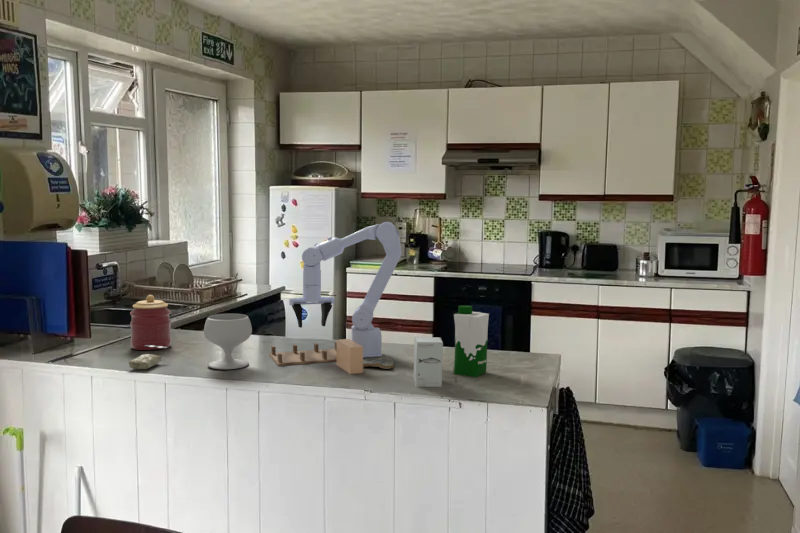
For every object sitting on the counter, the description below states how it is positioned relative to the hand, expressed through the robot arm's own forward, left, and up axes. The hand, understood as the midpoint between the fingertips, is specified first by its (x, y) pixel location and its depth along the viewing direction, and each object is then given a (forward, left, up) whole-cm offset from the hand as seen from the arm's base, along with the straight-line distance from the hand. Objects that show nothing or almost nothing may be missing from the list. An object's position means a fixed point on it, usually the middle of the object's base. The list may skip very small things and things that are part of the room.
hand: (311, 326), depth 223 cm
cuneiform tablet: (+47, -6, -7) cm, 48 cm away
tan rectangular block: (-6, +22, -10) cm, 24 cm away
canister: (+49, -28, -10) cm, 57 cm away
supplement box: (-22, +44, -10) cm, 50 cm away
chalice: (+27, +7, -10) cm, 30 cm away
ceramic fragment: (-20, +26, -9) cm, 34 cm away
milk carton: (-38, +38, -10) cm, 55 cm away
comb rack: (+2, +4, -9) cm, 10 cm away
